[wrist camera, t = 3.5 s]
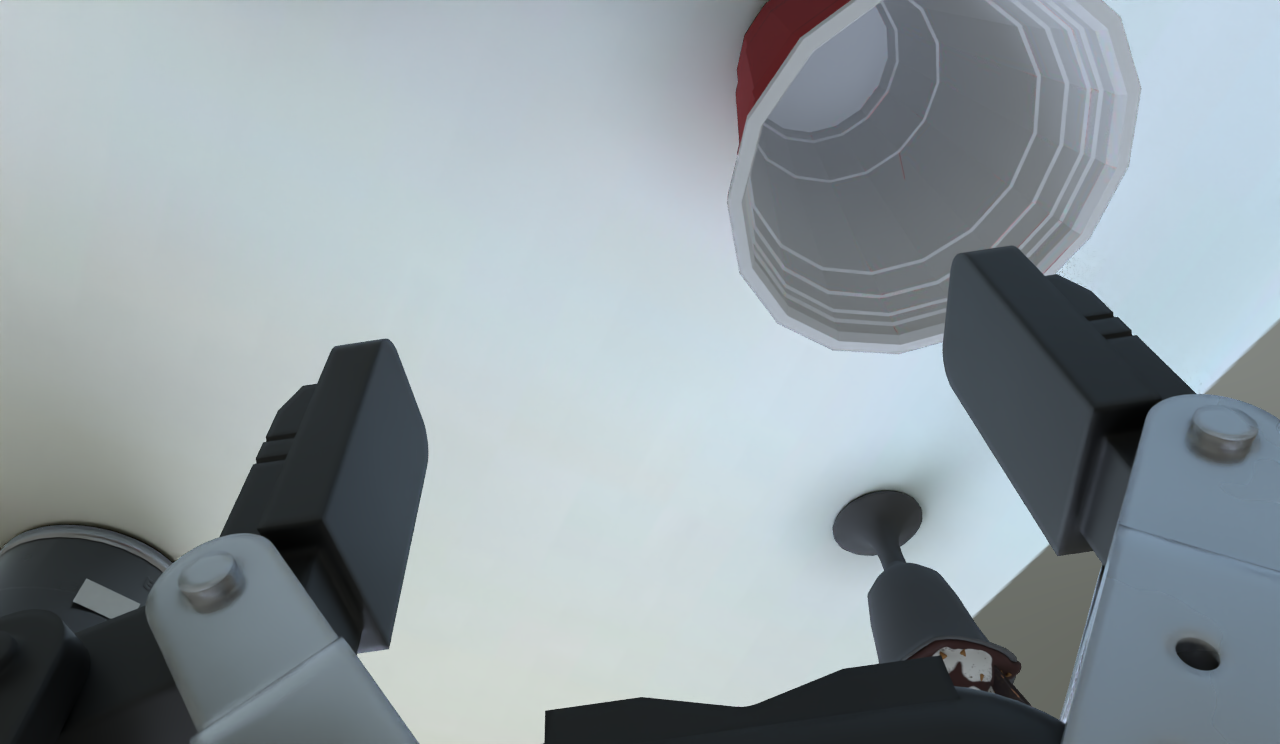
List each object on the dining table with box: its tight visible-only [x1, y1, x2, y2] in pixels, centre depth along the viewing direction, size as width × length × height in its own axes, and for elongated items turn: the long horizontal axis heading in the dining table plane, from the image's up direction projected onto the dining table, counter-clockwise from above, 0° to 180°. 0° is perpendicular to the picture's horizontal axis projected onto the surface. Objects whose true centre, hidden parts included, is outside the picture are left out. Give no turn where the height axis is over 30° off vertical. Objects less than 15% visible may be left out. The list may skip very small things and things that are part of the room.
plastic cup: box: [727, 0, 1141, 354], centre depth 26 cm, size 11×11×12 cm
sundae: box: [833, 491, 1032, 707], centre depth 39 cm, size 7×7×15 cm
